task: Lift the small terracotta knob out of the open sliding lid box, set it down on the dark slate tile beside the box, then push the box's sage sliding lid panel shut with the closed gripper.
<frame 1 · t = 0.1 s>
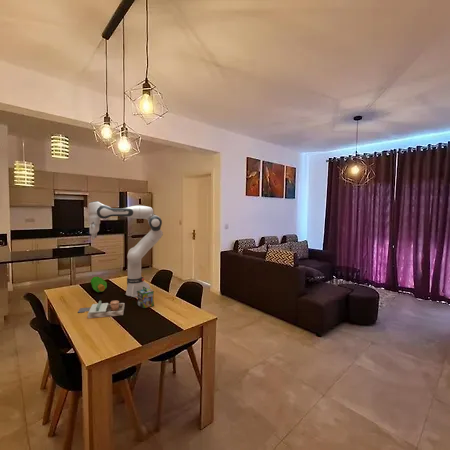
hand: (94, 238, 214), 48 cm above the table, fingers open, 8 cm apart
sliding lid panel: (98, 306, 185), point 5 cm above the table, slide at 0.0 cm
decorative tree: (98, 289, 235), on the table
chalk box: (145, 305, 202), on the table
terracotta knob: (114, 311, 188), point 1 cm above the table, touching sliding lid box
sliding lid box: (107, 312, 187), on the table
slate tile: (84, 310, 190), on the table
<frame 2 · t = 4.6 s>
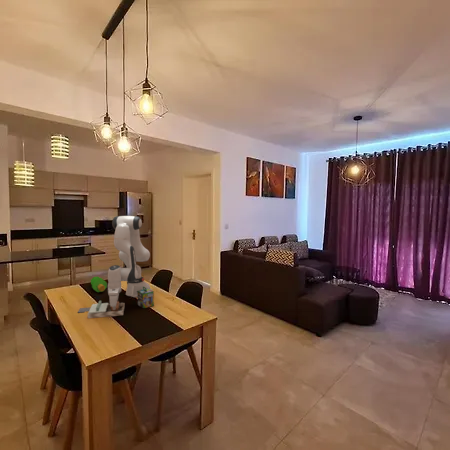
hand: (114, 307, 188), 3 cm above the table, fingers closed on terracotta knob, 5 cm apart
terracotta knob: (114, 311, 188), point 1 cm above the table, touching sliding lid box, gripper
everything else where it was.
when the fingers open (5 cm above the table, at t = 10.0 s): terracotta knob drops 1 cm, resting on slate tile.
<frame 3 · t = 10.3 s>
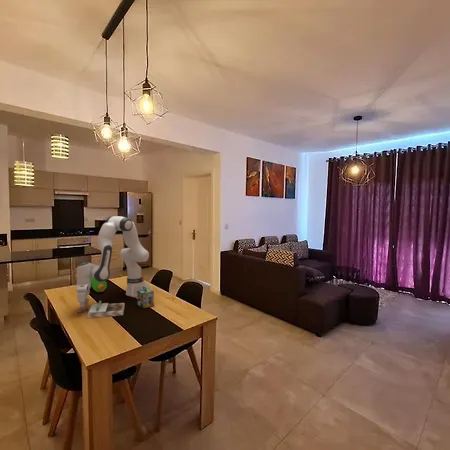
hand: (84, 304, 189), 5 cm above the table, fingers open, 7 cm apart
terracotta knob: (84, 309, 190), point 1 cm above the table, touching slate tile
everything else where it was.
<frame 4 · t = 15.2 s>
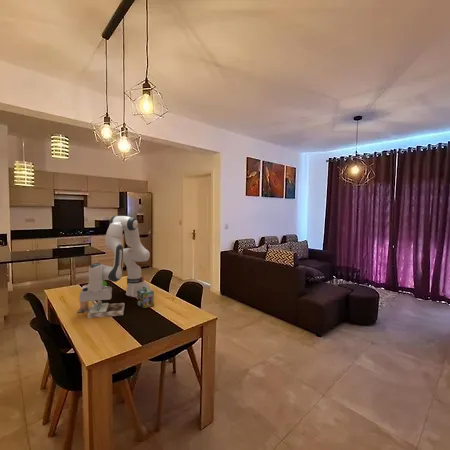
hand: (96, 306, 184), 5 cm above the table, fingers closed
sliding lid panel: (99, 306, 185), point 5 cm above the table, slide at 0.4 cm, touching gripper
everything else where it was.
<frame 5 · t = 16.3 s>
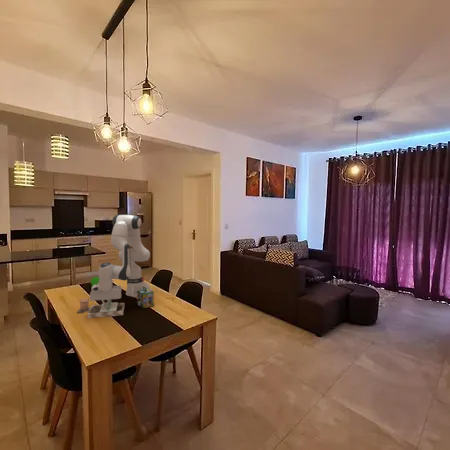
hand: (105, 305, 186), 5 cm above the table, fingers closed
sliding lid panel: (109, 305, 186), point 5 cm above the table, slide at 6.7 cm, touching gripper
everything else where it was.
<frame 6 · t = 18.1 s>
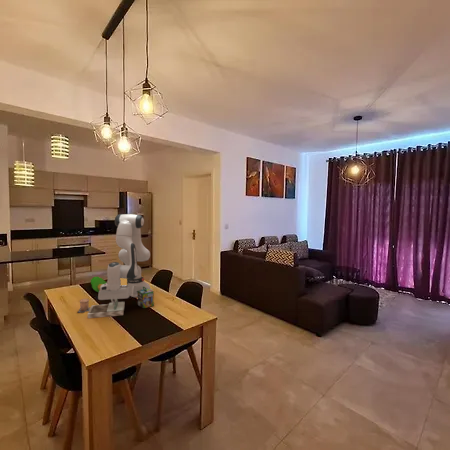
hand: (114, 304, 188), 6 cm above the table, fingers closed, pressing on sliding lid panel
sliding lid panel: (116, 304, 188), point 5 cm above the table, slide at 11.2 cm, touching gripper
everything else where it was.
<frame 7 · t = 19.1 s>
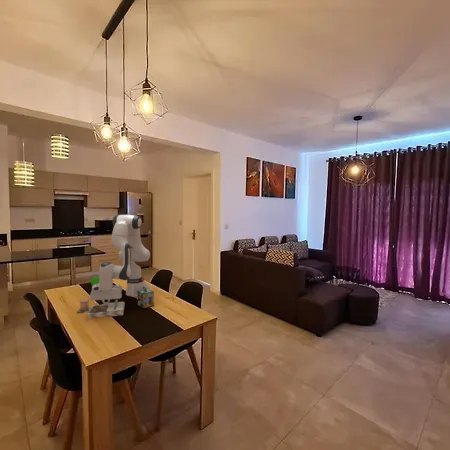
hand: (106, 305, 186), 6 cm above the table, fingers closed
sliding lid panel: (115, 304, 188), point 5 cm above the table, slide at 11.0 cm
everything else where it was.
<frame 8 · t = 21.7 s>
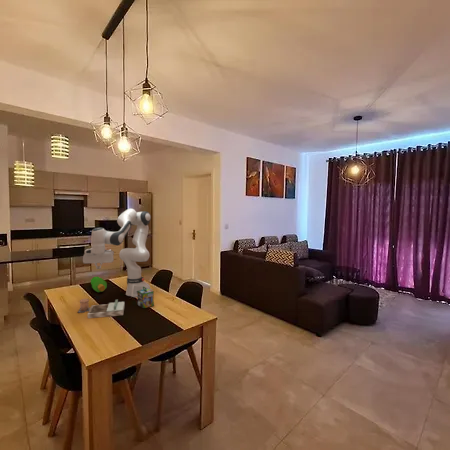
hand: (98, 268, 193), 29 cm above the table, fingers closed
nothing on the table moved.
at the end: terracotta knob 0.1 cm off-centre on the slate tile, point 0.6 cm above the slate tile's base; terracotta knob tilted 0°; sliding lid panel slide at 11.0 cm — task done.
